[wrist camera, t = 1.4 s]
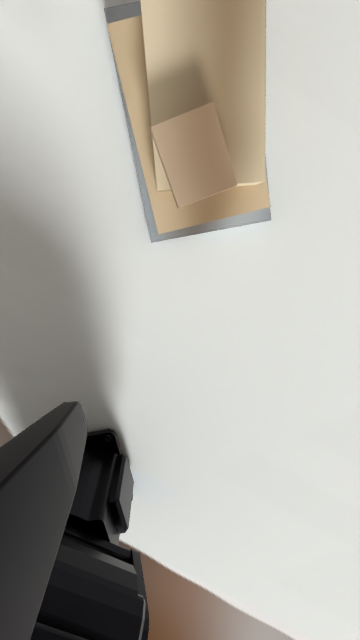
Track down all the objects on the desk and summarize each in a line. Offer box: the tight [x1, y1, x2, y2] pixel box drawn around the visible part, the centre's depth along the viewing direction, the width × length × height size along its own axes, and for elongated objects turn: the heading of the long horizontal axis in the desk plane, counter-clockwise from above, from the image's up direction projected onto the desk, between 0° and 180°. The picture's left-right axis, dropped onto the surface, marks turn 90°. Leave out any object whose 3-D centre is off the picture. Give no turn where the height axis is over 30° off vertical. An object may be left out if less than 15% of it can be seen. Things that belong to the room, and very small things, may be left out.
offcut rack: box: [104, 0, 271, 243], centre depth 15 cm, size 7×11×6 cm, turn 10°
